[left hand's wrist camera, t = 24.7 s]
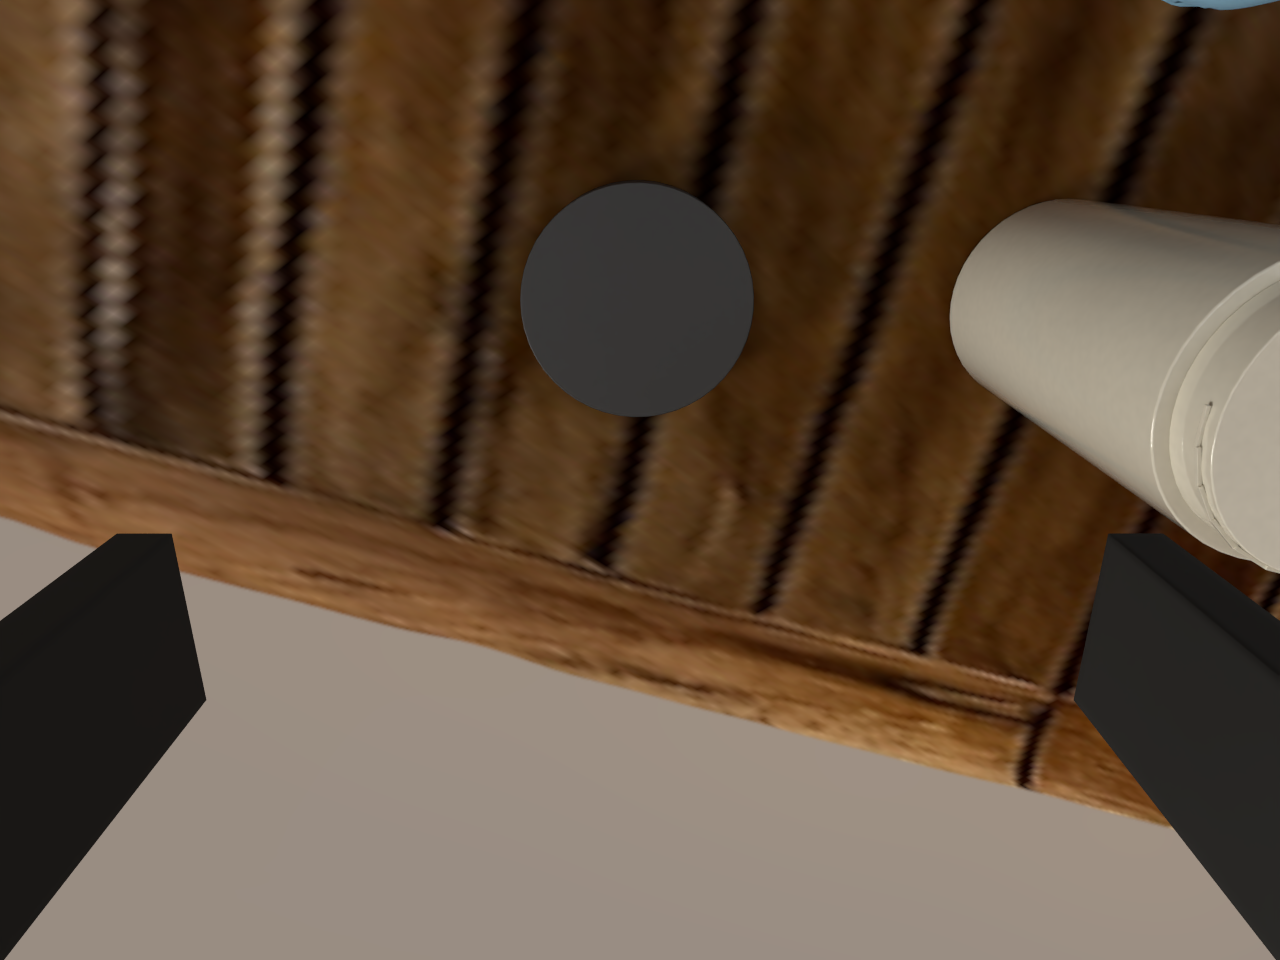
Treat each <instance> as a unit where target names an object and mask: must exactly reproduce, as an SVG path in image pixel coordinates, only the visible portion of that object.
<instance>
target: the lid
mask: <svg viewBox="0 0 1280 960" xmlns="http://www.w3.org/2000/svg"><path fill="white" fill-rule="evenodd" d="M520 301H521V315H522V320H523V325H524V330H525V333H526V336H527V339H528V342H529V345H530V347H531V349H532V351H533V353H534V355H535V357H536V359H537V360H538V362H539V363H540V365H541V366H542V368H543V369H544V371H545V372H546V373H547V374H548V375H549V377H550V378H551V379H552V380H553V381H554V382H555V383H556V384H557V385H558V386H559V387H560V388H561V389H563V390H564V391H565V392H566V393H568V394H569V395H570V396H572V397H573V398H575V399H576V400H578V401H580V402H582V403H584V404H585V405H587V406H589V407H592V408H594V409H597V410H600V411H602V412H606V413H610V414H614V415H619V416H629V417H647V416H654V415H661V414H665V413H668V412H672V411H675V410H678V409H680V408H683V407H685V406H687V405H690V404H691V403H693V402H695V401H696V400H698V399H700V398H702V397H703V396H704V395H706V394H707V393H708V392H709V391H711V390H712V389H713V388H714V387H715V386H716V385H717V384H719V383H720V382H721V381H722V380H723V379H724V377H725V376H726V375H727V374H728V372H729V371H730V370H731V369H732V367H733V366H734V364H735V363H736V361H737V359H738V357H739V356H740V354H741V352H742V350H743V347H744V345H745V343H746V341H747V338H748V334H749V331H750V327H751V322H752V316H753V306H754V292H753V283H752V277H751V273H750V269H749V265H748V262H747V259H746V257H745V254H744V252H743V249H742V247H741V246H740V244H739V242H738V240H737V238H736V237H735V235H734V234H733V232H732V231H731V230H730V228H729V227H728V226H727V224H726V223H725V222H724V221H723V220H722V219H721V218H720V217H719V216H718V215H717V214H716V213H715V212H714V211H713V210H712V209H711V208H710V207H709V206H707V205H706V204H705V203H703V202H702V201H701V200H700V199H698V198H696V197H695V196H693V195H691V194H689V193H688V192H686V191H684V190H681V189H679V188H676V187H674V186H671V185H667V184H663V183H660V182H654V181H645V180H629V181H621V182H615V183H610V184H607V185H604V186H601V187H597V188H595V189H593V190H591V191H589V192H587V193H585V194H583V195H581V196H580V197H578V198H577V199H575V200H574V201H572V202H571V203H569V204H568V205H567V206H566V207H565V208H564V209H563V210H561V211H560V212H559V213H558V214H557V215H556V216H555V217H554V218H553V219H552V220H551V221H550V222H549V223H548V225H547V226H546V227H545V228H544V230H543V231H542V233H541V234H540V236H539V237H538V239H537V240H536V242H535V244H534V246H533V248H532V250H531V252H530V254H529V257H528V260H527V263H526V266H525V269H524V274H523V279H522V284H521V299H520Z"/></svg>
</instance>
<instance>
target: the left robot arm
mask: <svg viewBox="0 0 1280 960" xmlns="http://www.w3.org/2000/svg"><path fill="white" fill-rule="evenodd" d="M1163 1H1165V2H1167V3H1169V4H1171V5H1175V6H1180V7H1191V6H1199V7H1202V8H1213V9H1217V10H1232V9H1240V8H1246V7H1252V6H1257V5H1261V4H1266V3H1271V2H1275V1H1279V0H1163ZM205 701H206V696H205V691H204V687H203V682H202V677H201V672H200V668H199V663H198V658H197V653H196V648H195V643H194V639H193V634H192V629H191V624H190V620H189V615H188V610H187V605H186V601H185V596H184V591H183V586H182V581H181V576H180V572H179V567H178V562H177V557H176V552H175V548H174V543H173V538H172V534H116V535H115V536H113V537H112V538H111V539H109V540H108V541H107V542H105V543H104V544H103V545H101V546H100V547H99V548H97V549H96V550H95V551H93V552H92V553H90V554H89V555H88V556H86V557H85V558H84V559H82V560H81V561H80V562H78V563H77V564H76V565H74V566H73V567H72V568H70V569H69V570H68V571H66V572H65V573H64V574H62V575H61V576H60V577H58V578H57V579H56V580H54V581H53V582H52V583H50V584H49V585H48V586H46V587H45V588H44V589H42V590H41V591H40V592H38V593H37V594H36V595H34V596H33V597H32V598H30V599H29V600H28V601H26V602H25V603H24V604H22V605H21V606H20V607H18V608H17V609H16V610H14V611H13V612H12V613H10V614H9V615H8V616H6V617H5V618H4V619H2V620H1V621H0V960H4V959H5V958H6V957H7V955H8V954H9V953H10V951H11V950H12V949H13V948H14V946H15V945H16V944H17V942H18V941H19V940H20V939H21V937H22V936H23V935H24V933H25V932H26V931H27V930H28V928H29V927H30V926H31V924H32V923H33V922H34V921H35V919H36V918H37V917H38V915H39V914H40V913H41V912H42V910H43V909H44V908H45V906H46V905H47V904H48V903H49V901H50V900H51V899H52V897H53V896H54V895H55V894H56V892H57V891H58V890H59V888H60V887H61V886H62V885H63V883H64V882H65V881H66V879H67V878H68V877H69V876H70V874H71V873H72V872H73V870H74V869H75V868H76V867H77V865H78V864H79V863H80V861H81V860H82V859H83V858H84V856H85V855H86V854H87V852H88V851H89V850H90V849H91V847H92V846H93V845H94V844H95V842H96V841H97V840H98V838H99V837H100V836H101V835H102V833H103V832H104V831H105V829H106V828H107V827H108V825H109V824H110V823H111V822H112V820H113V819H114V818H115V817H116V815H117V814H118V813H119V811H120V810H121V809H122V808H123V806H124V805H125V804H126V802H127V801H128V800H129V798H130V797H131V796H132V795H133V793H134V792H135V791H136V789H137V788H138V787H139V786H140V784H141V783H142V782H143V781H144V779H145V778H146V777H147V775H148V774H149V773H150V772H151V770H152V769H153V768H154V766H155V765H156V764H157V763H158V761H159V760H160V759H161V757H162V756H163V755H164V754H165V752H166V751H167V750H168V748H169V747H170V746H171V745H172V743H173V742H174V741H175V739H176V738H177V737H178V736H179V734H180V733H181V732H182V730H183V729H184V728H185V727H186V725H187V724H188V723H189V721H190V720H191V719H192V718H193V716H194V715H195V714H196V712H197V711H198V710H199V709H200V707H201V706H202V705H203V703H204V702H205ZM1074 701H1075V702H1076V703H1077V705H1078V706H1079V707H1080V709H1081V710H1082V711H1083V712H1084V714H1085V715H1086V716H1087V718H1088V719H1089V720H1090V721H1091V723H1092V724H1093V725H1094V727H1095V728H1096V729H1097V730H1098V732H1099V733H1100V734H1101V736H1102V737H1103V738H1104V739H1105V741H1106V742H1107V743H1108V745H1109V746H1110V747H1111V748H1112V750H1113V751H1114V752H1115V754H1116V755H1117V756H1118V757H1119V759H1120V760H1121V761H1122V763H1123V764H1124V765H1125V766H1126V768H1127V769H1128V770H1129V772H1130V773H1131V774H1132V775H1133V777H1134V778H1135V779H1136V781H1137V782H1138V783H1139V784H1140V786H1141V787H1142V788H1143V790H1144V791H1145V792H1146V793H1147V795H1148V796H1149V797H1150V799H1151V800H1152V801H1153V802H1154V804H1155V805H1156V806H1157V808H1158V809H1159V810H1160V811H1161V813H1162V814H1163V815H1164V817H1165V818H1166V819H1167V820H1168V822H1169V823H1170V824H1171V826H1172V827H1173V828H1174V829H1175V831H1176V832H1177V833H1178V834H1179V836H1180V837H1181V838H1182V840H1183V841H1184V842H1185V843H1186V845H1187V846H1188V847H1189V849H1190V850H1191V851H1192V852H1193V854H1194V855H1195V856H1196V858H1197V859H1198V860H1199V861H1200V863H1201V864H1202V865H1203V867H1204V868H1205V869H1206V870H1207V872H1208V873H1209V874H1210V876H1211V877H1212V878H1213V879H1214V881H1215V882H1216V883H1217V885H1218V886H1219V887H1220V888H1221V890H1222V891H1223V892H1224V894H1225V895H1226V896H1227V897H1228V899H1229V900H1230V901H1231V903H1232V904H1233V905H1234V906H1235V908H1236V909H1237V910H1238V912H1239V913H1240V914H1241V915H1242V917H1243V918H1244V919H1245V920H1246V922H1247V923H1248V924H1249V926H1250V927H1251V928H1252V930H1253V931H1254V932H1255V933H1256V935H1257V936H1258V937H1259V939H1260V940H1261V941H1262V942H1263V944H1264V945H1265V946H1266V948H1267V949H1268V950H1269V951H1270V953H1271V954H1272V955H1273V956H1274V958H1275V959H1276V960H1280V621H1279V620H1278V619H1276V618H1275V617H1274V616H1272V615H1271V614H1270V613H1268V612H1267V611H1266V610H1264V609H1263V608H1262V607H1260V606H1259V605H1258V604H1256V603H1255V602H1254V601H1252V600H1251V599H1250V598H1248V597H1247V596H1246V595H1244V594H1243V593H1242V592H1240V591H1239V590H1238V589H1236V588H1235V587H1234V586H1232V585H1231V584H1230V583H1228V582H1227V581H1226V580H1224V579H1223V578H1222V577H1220V576H1219V575H1218V574H1216V573H1215V572H1214V571H1212V570H1211V569H1210V568H1208V567H1207V566H1206V565H1204V564H1203V563H1202V562H1200V561H1199V560H1198V559H1196V558H1195V557H1194V556H1192V555H1191V554H1190V553H1188V552H1187V551H1186V550H1184V549H1183V548H1181V547H1180V546H1179V545H1177V544H1176V543H1175V542H1173V541H1172V540H1171V539H1169V538H1168V537H1167V536H1165V535H1164V534H1108V538H1107V543H1106V548H1105V552H1104V557H1103V562H1102V567H1101V572H1100V576H1099V581H1098V586H1097V591H1096V596H1095V600H1094V605H1093V610H1092V615H1091V619H1090V624H1089V629H1088V634H1087V639H1086V643H1085V648H1084V653H1083V658H1082V663H1081V667H1080V672H1079V677H1078V682H1077V687H1076V691H1075V696H1074Z"/></svg>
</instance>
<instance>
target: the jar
mask: <svg viewBox="0 0 1280 960" xmlns="http://www.w3.org/2000/svg"><path fill="white" fill-rule="evenodd" d="M950 329H951V335H952V340H953V344H954V347H955V350H956V352H957V355H958V357H959V359H960V361H961V362H962V364H963V366H964V367H965V369H966V370H967V371H968V373H969V374H970V375H971V376H972V377H973V378H974V379H975V380H976V381H977V382H978V383H979V384H980V385H982V386H983V387H984V388H986V389H987V390H988V391H990V392H991V393H993V394H994V395H995V396H997V397H998V398H1000V399H1001V400H1003V401H1004V402H1005V403H1007V404H1008V405H1010V406H1011V407H1012V408H1014V409H1015V410H1017V411H1018V412H1019V413H1021V414H1022V415H1024V416H1025V417H1026V418H1028V419H1029V420H1031V421H1032V422H1033V423H1035V424H1036V425H1038V426H1039V427H1040V428H1042V429H1043V430H1045V431H1046V432H1048V433H1049V434H1050V435H1052V436H1053V437H1055V438H1056V439H1057V440H1059V441H1060V442H1062V443H1063V444H1064V445H1066V446H1067V447H1069V448H1070V449H1071V450H1073V451H1074V452H1076V453H1077V454H1078V455H1080V456H1081V457H1083V458H1084V459H1085V460H1087V461H1088V462H1090V463H1091V464H1092V465H1094V466H1095V467H1097V468H1098V469H1100V470H1101V471H1102V472H1104V473H1105V474H1107V475H1108V476H1109V477H1111V478H1112V479H1114V480H1115V481H1116V482H1118V483H1119V484H1121V485H1122V486H1123V487H1125V488H1126V489H1128V490H1129V491H1130V492H1132V493H1133V494H1135V495H1136V496H1137V497H1139V498H1140V499H1142V500H1143V501H1145V502H1146V503H1147V504H1149V505H1150V506H1152V507H1153V508H1154V509H1156V510H1157V511H1159V512H1160V513H1161V514H1163V515H1164V516H1166V517H1167V518H1168V519H1170V520H1171V521H1173V522H1174V523H1175V524H1177V525H1178V526H1180V527H1181V528H1182V529H1184V530H1185V531H1187V532H1188V533H1190V534H1191V535H1192V536H1194V537H1195V538H1197V539H1198V540H1199V541H1201V542H1202V543H1204V544H1206V545H1208V546H1210V547H1212V548H1213V549H1215V550H1217V551H1219V552H1222V553H1225V554H1228V555H1231V556H1234V557H1237V558H1241V559H1246V560H1251V561H1253V562H1255V563H1256V564H1258V565H1259V566H1261V567H1263V568H1264V569H1265V570H1269V571H1273V572H1276V573H1280V225H1279V224H1271V223H1263V222H1255V221H1247V220H1240V219H1232V218H1224V217H1216V216H1208V215H1201V214H1193V213H1185V212H1177V211H1169V210H1162V209H1154V208H1146V207H1138V206H1130V205H1123V204H1115V203H1107V202H1099V201H1091V200H1083V199H1057V200H1051V201H1046V202H1042V203H1039V204H1036V205H1033V206H1030V207H1027V208H1025V209H1023V210H1021V211H1019V212H1017V213H1015V214H1013V215H1012V216H1010V217H1008V218H1007V219H1005V220H1004V221H1002V222H1001V223H1000V224H998V225H997V226H996V227H995V228H993V229H992V230H991V231H990V232H989V233H988V234H987V235H986V236H985V237H984V238H983V239H982V240H981V241H980V242H979V244H978V245H977V246H976V247H975V249H974V250H973V251H972V252H971V254H970V256H969V257H968V259H967V260H966V262H965V264H964V266H963V268H962V270H961V272H960V274H959V276H958V279H957V282H956V285H955V288H954V291H953V295H952V300H951V307H950Z"/></svg>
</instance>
